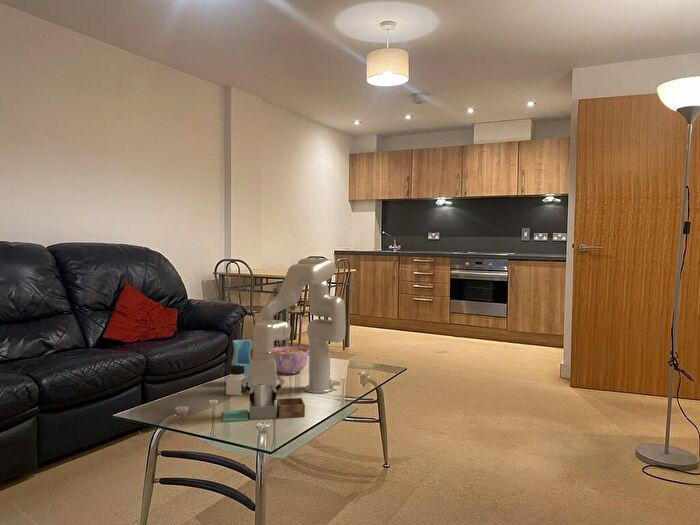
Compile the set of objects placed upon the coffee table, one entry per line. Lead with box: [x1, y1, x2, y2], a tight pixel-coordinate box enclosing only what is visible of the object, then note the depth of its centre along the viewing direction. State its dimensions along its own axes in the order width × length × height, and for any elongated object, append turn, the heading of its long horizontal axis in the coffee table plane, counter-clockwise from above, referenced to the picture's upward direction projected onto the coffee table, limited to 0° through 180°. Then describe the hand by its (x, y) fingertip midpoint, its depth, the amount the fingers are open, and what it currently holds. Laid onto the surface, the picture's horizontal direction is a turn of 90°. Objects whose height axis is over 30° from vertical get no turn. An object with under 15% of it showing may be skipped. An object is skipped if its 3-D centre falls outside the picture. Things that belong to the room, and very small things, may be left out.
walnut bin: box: [276, 397, 306, 419], centre depth 199 cm, size 10×10×4 cm
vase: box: [231, 339, 253, 387], centre depth 241 cm, size 8×8×20 cm
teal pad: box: [222, 409, 249, 423], centre depth 194 cm, size 9×12×1 cm
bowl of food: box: [273, 346, 309, 375], centre depth 265 cm, size 20×20×12 cm
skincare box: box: [253, 385, 273, 407], centre depth 196 cm, size 6×4×12 cm
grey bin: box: [248, 400, 277, 421], centre depth 196 cm, size 10×10×4 cm
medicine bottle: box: [225, 365, 249, 397], centre depth 226 cm, size 7×7×12 cm
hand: (262, 402), depth 196 cm, fingers closed on skincare box, 7 cm apart
